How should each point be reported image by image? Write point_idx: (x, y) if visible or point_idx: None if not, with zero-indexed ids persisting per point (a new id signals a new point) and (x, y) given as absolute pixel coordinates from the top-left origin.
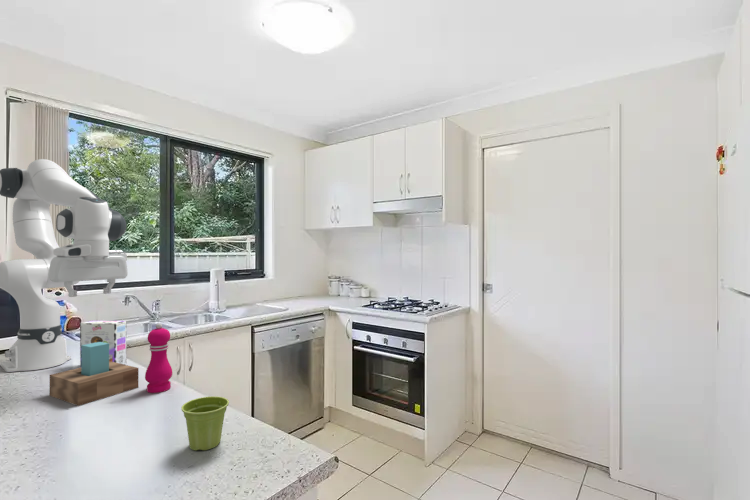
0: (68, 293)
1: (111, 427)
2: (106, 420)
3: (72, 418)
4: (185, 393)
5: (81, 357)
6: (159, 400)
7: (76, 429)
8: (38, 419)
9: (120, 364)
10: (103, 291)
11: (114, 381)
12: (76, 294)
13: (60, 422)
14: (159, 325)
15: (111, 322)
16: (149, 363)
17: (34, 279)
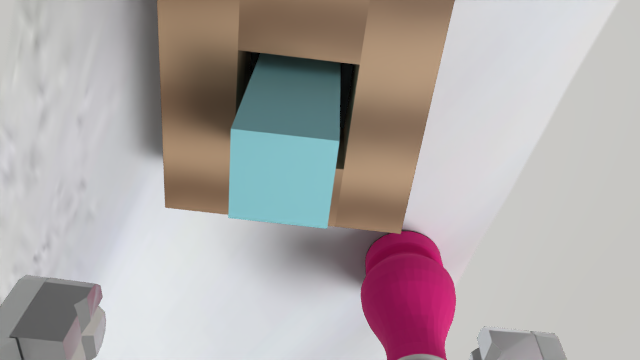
0: (5, 303)
1: (158, 352)
2: (173, 315)
3: (130, 235)
4: None
5: (242, 100)
6: (327, 325)
7: (107, 300)
8: (69, 158)
9: (418, 117)
10: (489, 349)
11: None
12: (90, 355)
13: (100, 232)
14: None
15: None
16: (386, 317)
17: None
